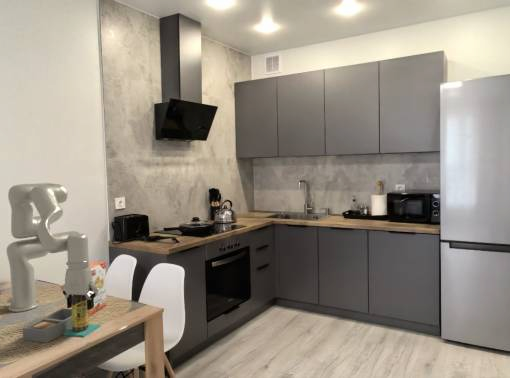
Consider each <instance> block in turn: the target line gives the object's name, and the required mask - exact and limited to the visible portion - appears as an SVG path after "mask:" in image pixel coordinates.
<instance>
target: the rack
mask: <svg viewBox="0 0 510 378" xmlns="http://www.w3.org/2000/svg"><path fill="white" fill-rule="evenodd" d="M42 322H49V323H54V324H56V325H54V326H52V327H51V328H49V329H47V330H46V329H36V328H32V327H33V326H35V325H37V324H40V323H42ZM70 328H72V308H65V307H64V308H60V309H58V310H57V311H54V312H52V313H50V314H49V315H46V316H44V317H42V318H40V319H38V320H36V321H34V322H33V323H31V324H29V325H26V326H24V327H23V328H22V338H23V339H22V340H23V341H29V342H30V341H31V342H38V343H40V342H41V343H50V342H51V341H52V340H54V339H56V338H58V337H60V336H62V333H63V332H65V331H67V330H68V329H70Z"/></svg>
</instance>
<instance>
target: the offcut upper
mask: <svg viewBox="0 0 510 378" xmlns="http://www.w3.org/2000/svg"><path fill="white" fill-rule="evenodd" d="M54 325H56V324H54V323H49V322H42V323H40V324H37V325H35V326H33V327H32V328H36V329H46V330H47V329H49V328H51V327H52V326H54Z"/></svg>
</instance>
